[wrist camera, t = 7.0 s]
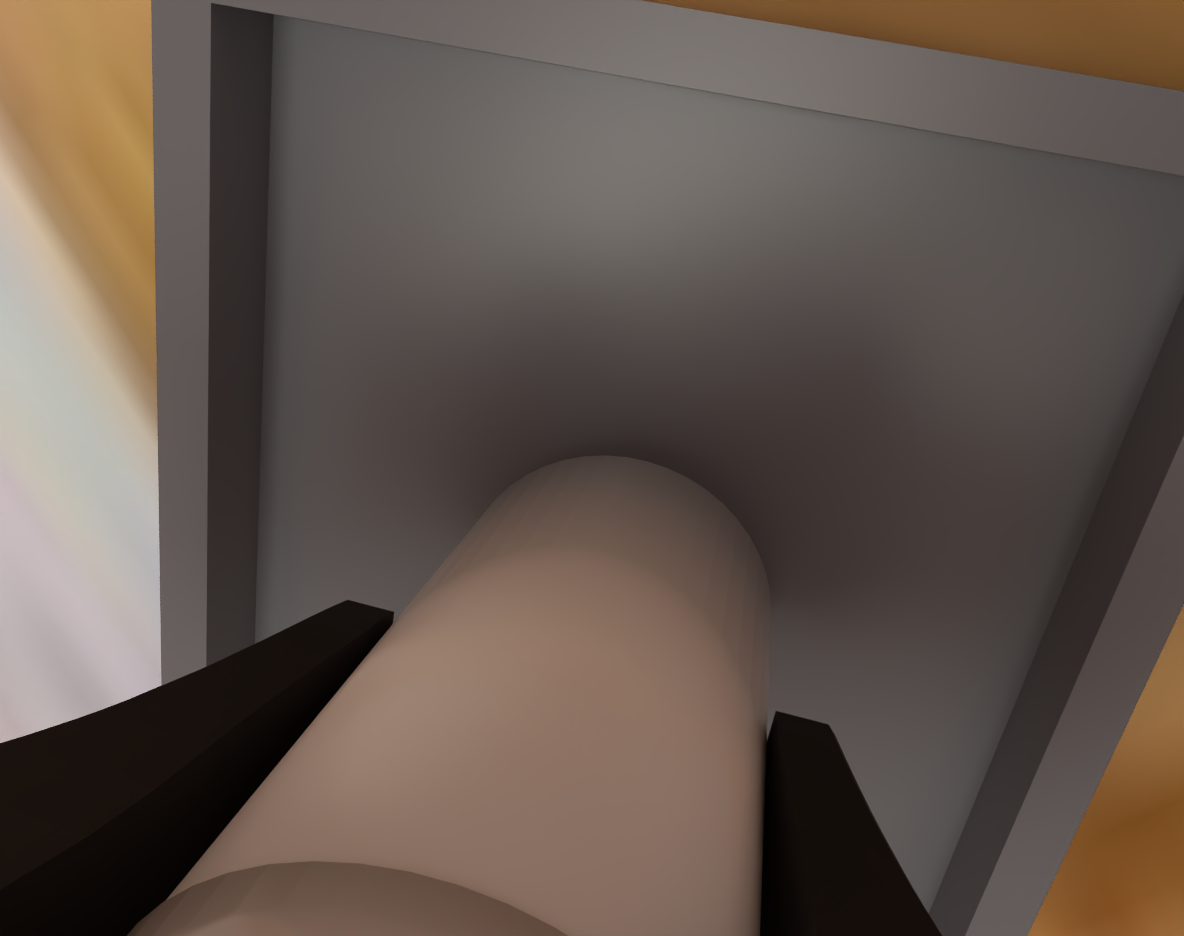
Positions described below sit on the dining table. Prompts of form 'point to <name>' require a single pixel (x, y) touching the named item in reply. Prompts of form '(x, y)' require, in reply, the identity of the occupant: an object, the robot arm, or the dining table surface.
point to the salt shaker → (529, 738)
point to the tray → (696, 359)
